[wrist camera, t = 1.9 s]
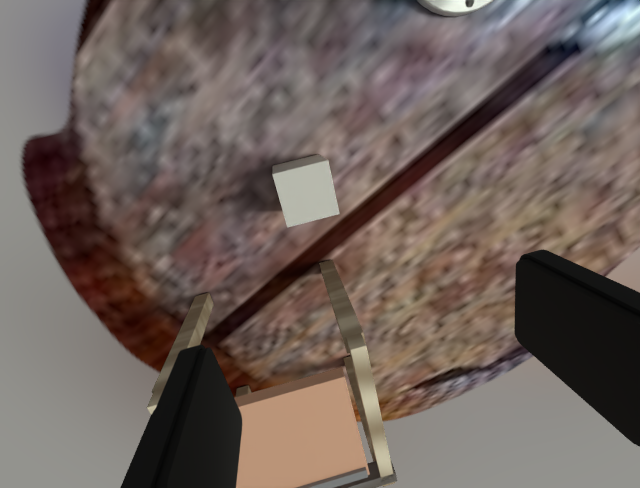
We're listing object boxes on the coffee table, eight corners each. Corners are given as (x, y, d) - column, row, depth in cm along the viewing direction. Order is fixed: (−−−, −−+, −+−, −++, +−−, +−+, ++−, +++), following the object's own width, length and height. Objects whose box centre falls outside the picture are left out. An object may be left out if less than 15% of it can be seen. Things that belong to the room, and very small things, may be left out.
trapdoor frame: (195, 296, 36) (143, 408, 22) (332, 259, 37) (368, 344, 23) (240, 396, 42) (223, 535, 28) (356, 363, 43) (397, 482, 29)
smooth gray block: (272, 165, 32) (272, 174, 27) (319, 154, 32) (328, 160, 27) (285, 210, 34) (287, 227, 29) (328, 199, 34) (339, 213, 29)
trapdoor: (191, 409, 24) (187, 425, 23) (341, 367, 24) (345, 379, 23) (241, 500, 28) (239, 517, 27) (366, 463, 29) (370, 477, 28)
